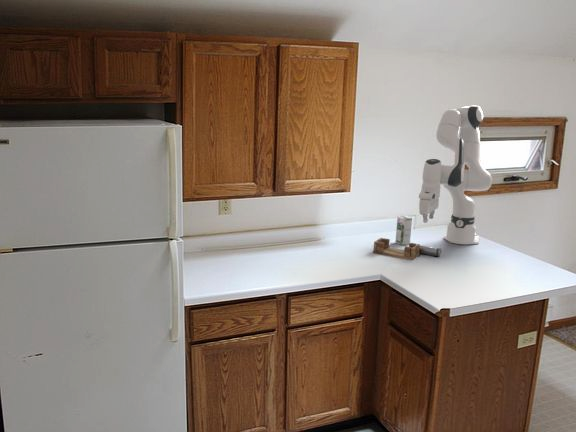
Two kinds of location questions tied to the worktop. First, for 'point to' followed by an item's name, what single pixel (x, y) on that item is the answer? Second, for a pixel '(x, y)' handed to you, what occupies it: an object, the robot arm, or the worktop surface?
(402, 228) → the syrup box
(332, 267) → the worktop surface
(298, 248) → the worktop surface
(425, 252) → the cylinder
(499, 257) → the worktop surface
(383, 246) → the cradle
